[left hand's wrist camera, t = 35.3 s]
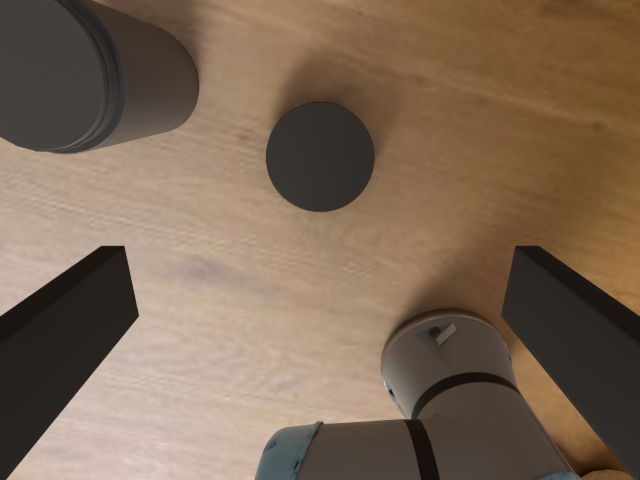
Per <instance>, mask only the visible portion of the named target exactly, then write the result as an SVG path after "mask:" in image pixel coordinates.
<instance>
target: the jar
mask: <svg viewBox="0 0 640 480" xmlns="http://www.w3.org/2000/svg"><path fill="white" fill-rule="evenodd" d="M198 91H199V82H198V76H197V72H196V68H195V65H194V63H193V61H192V59H191V57H190V55H189V53H188V52H187V50H186V49H185V48H184V46H183V45H182V44H181V43H180V42H179V41H178V40H177V39H176V38H175V37H174V36H172V35H171V34H170V33H168V32H166V31H165V30H163V29H161V28H158V27H156V26H153V25H151V24H149V23H146V22H144V21H141V20H139V19H136V18H134V17H131V16H129V15H127V14H124V13H122V12H119V11H117V10H114V9H112V8H109V7H107V6H105V5H102V4H100V3H97V2H95V1H92V0H0V137H1V138H3V139H5V140H7V141H9V142H11V143H13V144H15V145H16V146H19V147H23V148H26V149H30V150H34V151H40V152H51V153H56V154H77V153H83V152H87V151H91V150H95V149H99V148H103V147H107V146H111V145H115V144H119V143H123V142H127V141H131V140H135V139H139V138H144V137H148V136H152V135H156V134H160V133H164V132H168V131H171V130H173V129H175V128H177V127H179V126H180V125H182V124H183V123H184V122H185V121H186V120H187V119H188V118H189V117H190V115H191V114H192V112H193V110H194V108H195V105H196V103H197V99H198Z"/></svg>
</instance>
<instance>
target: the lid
mask: <svg viewBox="0 0 640 480" xmlns="http://www.w3.org/2000/svg"><path fill="white" fill-rule="evenodd" d="M266 164H267V170H268V174H269V177H270V179H271V181H272V183H273V185H274V187H275V188H276V190H277V191H278V192H279V193H280V194H281V196H282V197H283V198H285V199H286V200H287V201H288V202H290V203H291V204H293V205H295V206H297V207H299V208H301V209H304V210H308V211H313V212H327V211H332V210H336V209H339V208H342V207H344V206H346V205H348V204H349V203H351V202H352V201H353V200H354V199H356V198H357V197H358V196H359V195H360V194H361V193H362V191H363V190H364V189H365V187H366V186H367V184H368V182H369V180H370V177H371V175H372V171H373V167H374V148H373V143H372V140H371V137H370V135H369V133H368V131H367V129H366V127H365V126H364V124H363V123H362V122H361V121H360V120H359V119H358V118H357V117H356V116H355V115H354V114H353V113H351V112H350V111H348V110H347V109H345V108H343V107H341V106H339V105H336V104H332V103H327V102H314V103H308V104H304V105H302V106H299V107H297V108H295V109H294V110H292V111H290V112H289V113H288V114H286V115H285V116H284V117H283V118H282V119H281V120H280V121H279V122H278V124H277V125H276V126H275V128H274V130H273V131H272V133H271V135H270V138H269V141H268V145H267V150H266Z"/></svg>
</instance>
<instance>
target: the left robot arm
mask: <svg viewBox="0 0 640 480" xmlns="http://www.w3.org/2000/svg"><path fill="white" fill-rule="evenodd" d="M138 317H139V314H138V309H137V304H136V299H135V294H134V290H133V285H132V280H131V275H130V271H129V266H128V261H127V256H126V252H125V247H124V246H101V247H99V248H98V249H96V250H95V251H93V252H92V253H91V254H89V255H88V256H86V257H85V258H83V259H82V260H80V261H79V262H78V263H76V264H75V265H73V266H72V267H70V268H69V269H68V270H66V271H65V272H63V273H62V274H60V275H59V276H58V277H56V278H55V279H53V280H52V281H50V282H49V283H47V284H46V285H45V286H43V287H42V288H40V289H39V290H37V291H36V292H35V293H33V294H32V295H30V296H29V297H27V298H26V299H25V300H23V301H22V302H20V303H19V304H17V305H16V306H14V307H13V308H12V309H10V310H9V311H7V312H6V313H4V314H3V315H2V316H0V480H6V479H7V478H8V477H9V475H10V474H11V473H12V472H13V471H14V469H15V468H16V467H17V466H18V464H19V463H20V462H21V461H22V459H23V458H24V457H25V456H26V455H27V453H28V452H29V451H30V450H31V448H32V447H33V446H34V445H35V443H36V442H37V441H38V440H39V439H40V437H41V436H42V435H43V434H44V432H45V431H46V430H47V429H48V427H49V426H50V425H51V424H52V423H53V421H54V420H55V419H56V418H57V416H58V415H59V414H60V413H61V412H62V410H63V409H64V408H65V407H66V405H67V404H68V403H69V402H70V400H71V399H72V398H73V397H74V396H75V394H76V393H77V392H78V391H79V389H80V388H81V387H82V386H83V384H84V383H85V382H86V381H87V380H88V378H89V377H90V376H91V375H92V373H93V372H94V371H95V370H96V368H97V367H98V366H99V365H100V364H101V362H102V361H103V360H104V359H105V357H106V356H107V355H108V354H109V352H110V351H111V350H112V349H113V348H114V346H115V345H116V344H117V343H118V341H119V340H120V339H121V338H122V336H123V335H124V334H125V333H126V332H127V330H128V329H129V328H130V327H131V325H132V324H133V323H134V322H135V321H136V319H137V318H138ZM501 317H502V318H503V319H504V321H505V322H506V323H507V324H508V325H509V327H510V328H511V329H512V330H513V332H514V333H515V334H516V335H517V336H518V338H519V339H520V340H521V341H522V343H523V344H524V345H525V346H526V348H527V349H528V350H529V351H530V352H531V354H532V355H533V356H534V357H535V359H536V360H537V361H538V362H539V364H540V365H541V366H542V367H543V368H544V370H545V371H546V372H547V373H548V375H549V376H550V377H551V378H552V380H553V381H554V382H555V383H556V384H557V386H558V387H559V388H560V389H561V391H562V392H563V393H564V394H565V396H566V397H567V398H568V399H569V400H570V402H571V403H572V404H573V405H574V407H575V408H576V409H577V410H578V412H579V413H580V414H581V415H582V416H583V418H584V419H585V420H586V421H587V423H588V424H589V425H590V426H591V427H592V429H593V430H594V431H595V432H596V434H597V435H598V436H599V437H600V439H601V440H602V441H603V442H604V443H605V445H606V446H607V447H608V448H609V450H610V451H611V452H612V453H613V455H614V456H615V457H616V458H617V459H618V461H619V462H620V463H621V464H622V466H623V467H624V468H625V469H626V471H627V472H628V473H629V474H630V475H631V477H632V478H633V479H634V480H640V316H638V315H637V314H636V313H634V312H633V311H631V310H630V309H628V308H627V307H626V306H624V305H623V304H621V303H620V302H618V301H617V300H615V299H614V298H613V297H611V296H610V295H608V294H607V293H605V292H604V291H603V290H601V289H600V288H598V287H597V286H595V285H594V284H593V283H591V282H590V281H588V280H587V279H585V278H584V277H582V276H581V275H580V274H578V273H577V272H575V271H574V270H572V269H571V268H570V267H568V266H567V265H565V264H564V263H562V262H561V261H560V260H558V259H557V258H555V257H554V256H552V255H551V254H549V253H548V252H547V251H545V250H544V249H542V248H541V247H539V246H516V247H515V252H514V256H513V261H512V266H511V271H510V275H509V280H508V285H507V290H506V294H505V299H504V304H503V309H502V314H501ZM381 371H382V376H383V380H384V384H385V387H386V390H387V392H388V393H389V395H390V397H391V399H392V400H393V401H394V403H395V404H396V405H397V406H398V408H399V410H400V411H401V413H402V414H403V415H404V417H405V418H406V420H403V419H399V420H384V421H368V422H353V423H335V424H324V423H323V421H319V422H316V423H315V424H311V425H303V426H294V427H287V428H283V429H280V430H279V431H277V432H276V433H275V434H274V435H273V436H272V437H271V438H270V440H269V441H268V443H267V445H266V446H265V449H264V451H263V454H262V456H261V459H260V462H259V465H258V468H257V472H256V476H255V480H582V479H581V478H580V477H579V476H578V475H577V474H576V473H575V472H574V471H573V469H572V468H571V466H570V465H569V464H568V462H567V461H566V459H565V458H564V456H563V455H562V453H561V452H560V450H559V449H558V447H557V446H556V444H555V443H554V442H553V440H552V439H551V437H550V436H549V434H548V433H547V431H546V430H545V428H544V427H543V425H542V424H541V423H540V421H539V420H538V418H537V417H536V415H535V414H534V412H533V411H532V409H531V408H530V406H529V405H528V403H527V402H526V401H525V399H524V398H523V396H522V395H521V393H520V392H519V390H518V388H517V385H516V381H515V377H514V373H513V369H512V361H511V355H510V352H509V349H508V346H507V344H506V342H505V340H504V339H503V337H502V336H501V335H500V333H499V332H498V331H497V329H496V328H495V327H494V326H493V325H492V324H491V323H490V322H489V321H487V320H486V319H485V318H483V317H481V316H479V315H477V314H475V313H472V312H469V311H465V310H458V309H442V310H436V311H431V312H427V313H424V314H422V315H419V316H417V317H415V318H413V319H411V320H409V321H408V322H406V323H405V324H403V325H402V326H401V327H400V328H399V329H398V330H397V331H396V332H395V333H394V334H393V335H392V336H391V338H390V339H389V340H388V342H387V344H386V346H385V348H384V350H383V354H382V358H381Z"/></svg>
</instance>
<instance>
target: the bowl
mask: <svg viewBox="0 0 640 480" xmlns="http://www.w3.org/2000/svg"><path fill="white" fill-rule="evenodd" d="M580 478H581V479H582V480H634V479H633V478H632V477H631V475H630V474H626V473H624V472H622V471H615V470H607V469H606V470H600V471H592V472H590V473H588V474H586V475H584V476H583V477H580Z"/></svg>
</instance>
